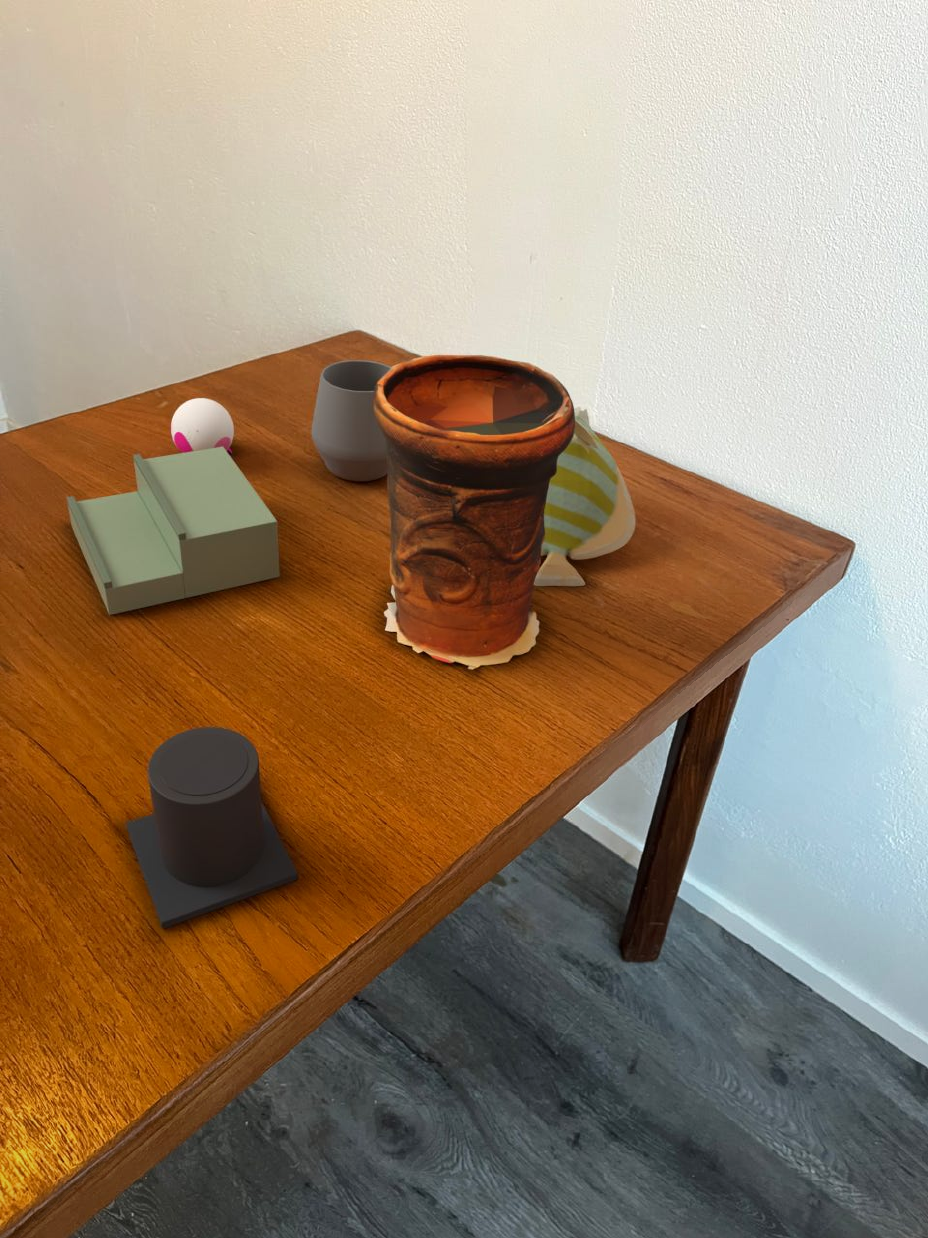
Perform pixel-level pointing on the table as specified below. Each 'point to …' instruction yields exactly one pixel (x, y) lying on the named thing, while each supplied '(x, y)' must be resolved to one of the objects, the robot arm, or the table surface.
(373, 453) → the cup
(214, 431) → the stress ball
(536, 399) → the vessel
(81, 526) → the green stepped riser
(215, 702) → the table surface
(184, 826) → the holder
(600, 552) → the decorative fish sculpture
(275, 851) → the pad
